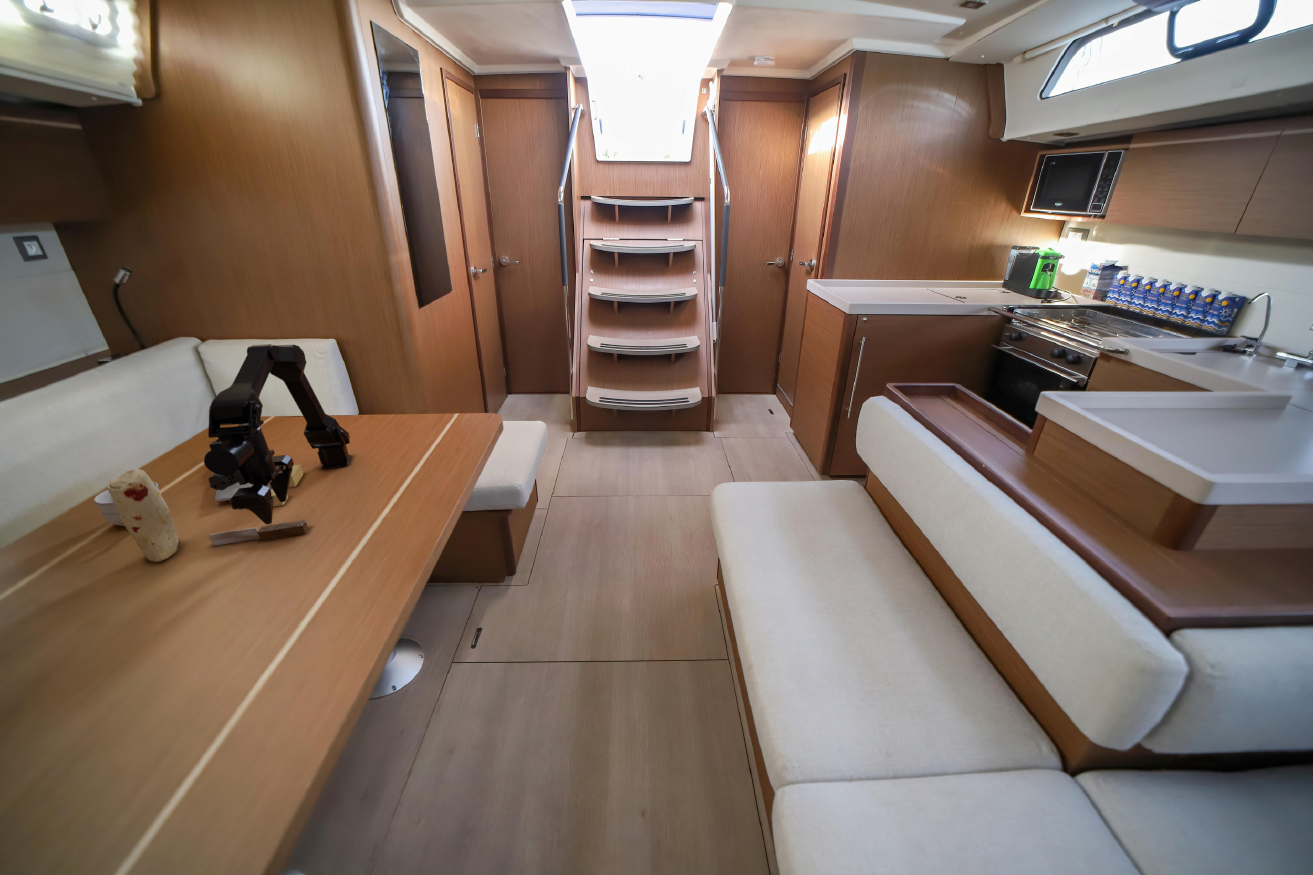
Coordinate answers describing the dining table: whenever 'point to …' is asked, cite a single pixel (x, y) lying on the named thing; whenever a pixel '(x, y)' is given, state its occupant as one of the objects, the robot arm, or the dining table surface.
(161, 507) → the food model
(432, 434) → the dining table surface
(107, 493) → the teacup
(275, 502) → the butter slice
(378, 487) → the dining table surface
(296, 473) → the butter block
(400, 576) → the dining table surface
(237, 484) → the meat cleaver
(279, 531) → the knife
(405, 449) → the dining table surface
